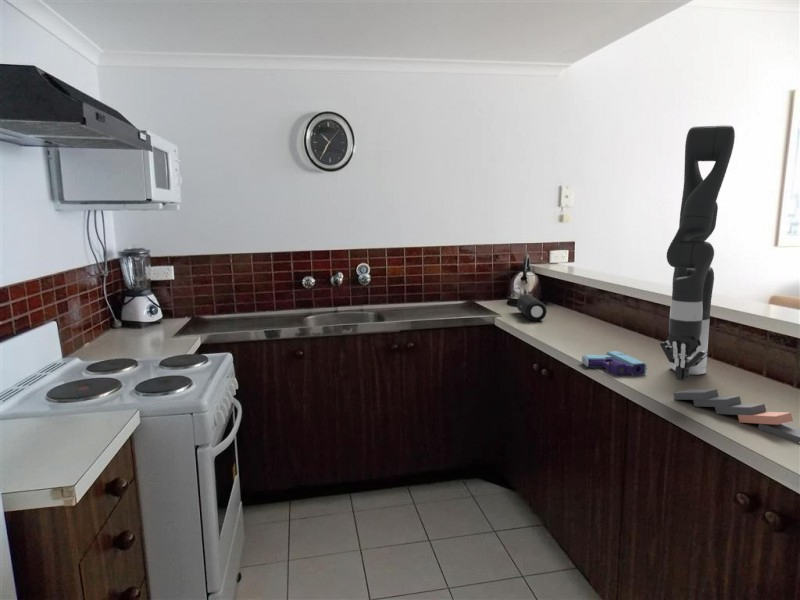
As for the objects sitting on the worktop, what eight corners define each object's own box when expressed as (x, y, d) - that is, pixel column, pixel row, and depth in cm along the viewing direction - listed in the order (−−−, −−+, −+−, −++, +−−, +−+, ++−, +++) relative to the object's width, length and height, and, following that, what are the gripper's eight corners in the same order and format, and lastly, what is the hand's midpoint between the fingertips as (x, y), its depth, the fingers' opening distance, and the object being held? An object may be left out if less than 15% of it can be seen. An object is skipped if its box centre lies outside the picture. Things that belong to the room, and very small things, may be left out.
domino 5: (758, 423, 117) (802, 438, 109) (772, 419, 119) (816, 433, 111) (758, 430, 118) (801, 445, 109) (771, 426, 120) (815, 441, 111)
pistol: (577, 365, 172) (618, 361, 174) (602, 379, 156) (647, 375, 159) (577, 353, 171) (619, 350, 173) (602, 366, 156) (647, 362, 158)
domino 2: (692, 399, 132) (726, 399, 124) (705, 396, 134) (739, 396, 126) (694, 406, 132) (728, 406, 124) (707, 403, 134) (741, 403, 125)
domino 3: (714, 406, 127) (750, 407, 118) (728, 403, 129) (764, 403, 120) (716, 414, 126) (751, 415, 118) (730, 410, 128) (766, 411, 120)
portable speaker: (515, 312, 264) (515, 293, 262) (534, 312, 264) (535, 293, 262) (526, 322, 239) (527, 301, 237) (547, 322, 238) (548, 301, 237)
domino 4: (737, 414, 121) (775, 416, 113) (752, 411, 123) (790, 412, 115) (739, 422, 121) (777, 424, 113) (754, 418, 123) (792, 420, 114)
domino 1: (673, 392, 137) (703, 392, 129) (685, 390, 139) (717, 389, 131) (674, 399, 137) (705, 399, 129) (687, 396, 139) (718, 396, 131)
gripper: (719, 319, 130) (714, 384, 133) (672, 311, 142) (668, 371, 145) (700, 322, 127) (695, 389, 130) (654, 314, 139) (650, 375, 141)
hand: (681, 380), depth 137 cm, fingers closed
